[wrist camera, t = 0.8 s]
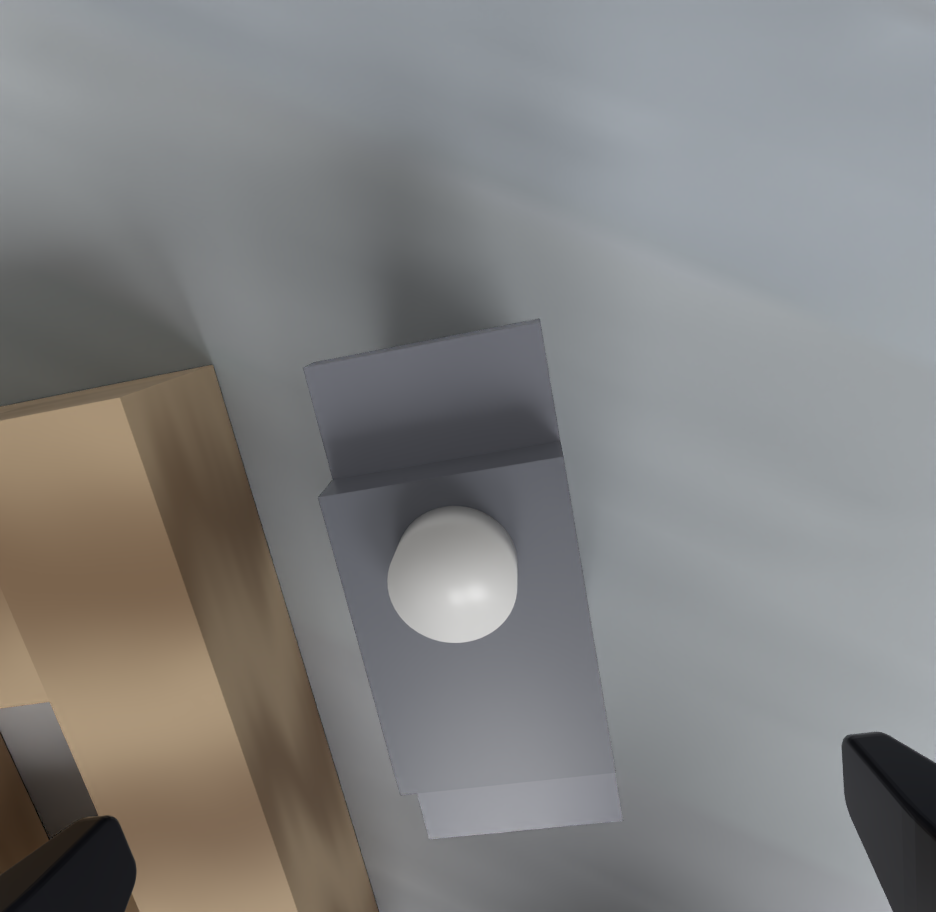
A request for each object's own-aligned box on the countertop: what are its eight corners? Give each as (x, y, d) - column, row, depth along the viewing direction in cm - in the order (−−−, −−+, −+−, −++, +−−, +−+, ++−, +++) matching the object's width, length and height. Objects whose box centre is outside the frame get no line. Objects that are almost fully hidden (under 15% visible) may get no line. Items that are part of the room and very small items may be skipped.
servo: (595, 669, 18) (637, 899, 12) (453, 687, 19) (416, 917, 12) (533, 301, 16) (544, 333, 9) (368, 333, 16) (265, 387, 10)
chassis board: (394, 964, 22) (367, 1119, 18) (12, 992, 24) (-89, 1139, 20) (212, 364, 16) (117, 398, 13) (-264, 458, 18) (-480, 514, 14)
